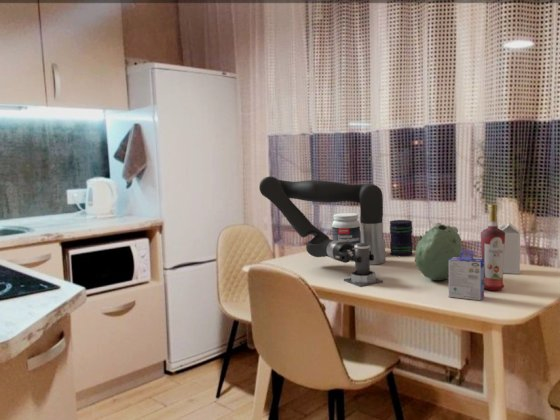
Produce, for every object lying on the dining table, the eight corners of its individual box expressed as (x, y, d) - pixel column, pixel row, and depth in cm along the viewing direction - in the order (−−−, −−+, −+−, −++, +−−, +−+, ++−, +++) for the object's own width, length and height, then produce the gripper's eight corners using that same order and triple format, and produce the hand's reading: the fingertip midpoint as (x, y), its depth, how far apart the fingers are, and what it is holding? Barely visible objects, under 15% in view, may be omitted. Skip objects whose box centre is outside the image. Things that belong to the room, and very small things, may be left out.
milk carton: (519, 269, 182) (519, 219, 180) (519, 274, 175) (520, 222, 173) (498, 268, 185) (498, 219, 183) (498, 273, 178) (498, 222, 176)
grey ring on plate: (365, 276, 183) (365, 268, 183) (382, 282, 174) (382, 273, 174) (343, 280, 179) (343, 272, 178) (359, 286, 170) (359, 277, 169)
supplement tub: (341, 257, 218) (339, 217, 215) (328, 252, 229) (326, 214, 227) (366, 254, 222) (364, 214, 220) (352, 249, 234) (350, 212, 232)
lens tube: (364, 273, 180) (363, 242, 178) (373, 276, 175) (372, 244, 174) (352, 276, 177) (351, 243, 176) (361, 279, 173) (360, 246, 171)
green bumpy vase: (405, 282, 173) (404, 226, 170) (430, 271, 186) (429, 219, 184) (448, 289, 162) (447, 230, 160) (471, 276, 175) (470, 222, 173)
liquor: (485, 292, 156) (485, 206, 153) (477, 286, 163) (477, 204, 160) (508, 291, 156) (509, 205, 152) (499, 285, 163) (499, 203, 160)
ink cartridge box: (484, 296, 152) (484, 251, 151) (481, 301, 148) (481, 254, 146) (452, 292, 158) (451, 249, 156) (448, 297, 153) (447, 252, 151)
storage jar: (415, 252, 220) (415, 220, 218) (409, 257, 212) (408, 223, 210) (394, 251, 225) (393, 219, 224) (387, 255, 217) (386, 222, 215)
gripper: (324, 244, 185) (349, 251, 169) (355, 239, 191) (382, 246, 176) (324, 263, 186) (350, 272, 170) (355, 258, 192) (382, 266, 177)
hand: (366, 258), depth 173 cm, fingers closed on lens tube, 5 cm apart
